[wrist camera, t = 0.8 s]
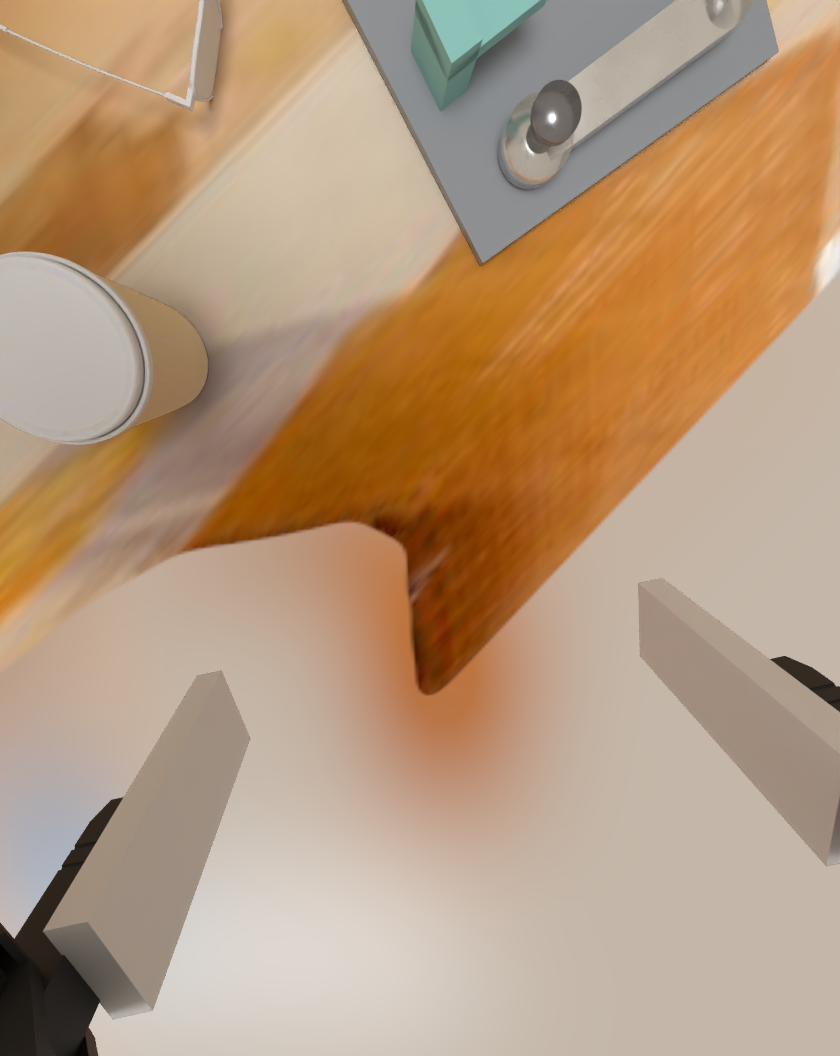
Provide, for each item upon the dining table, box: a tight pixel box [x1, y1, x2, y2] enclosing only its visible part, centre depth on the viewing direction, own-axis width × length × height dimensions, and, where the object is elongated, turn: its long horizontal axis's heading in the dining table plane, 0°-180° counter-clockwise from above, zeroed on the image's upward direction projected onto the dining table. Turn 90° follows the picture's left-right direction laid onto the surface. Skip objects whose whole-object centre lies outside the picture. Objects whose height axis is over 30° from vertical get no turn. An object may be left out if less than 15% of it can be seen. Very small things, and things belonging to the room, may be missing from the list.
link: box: [498, 0, 753, 190], centre depth 27 cm, size 17×4×5 cm, turn 123°
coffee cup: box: [0, 252, 208, 445], centre depth 28 cm, size 9×9×12 cm
